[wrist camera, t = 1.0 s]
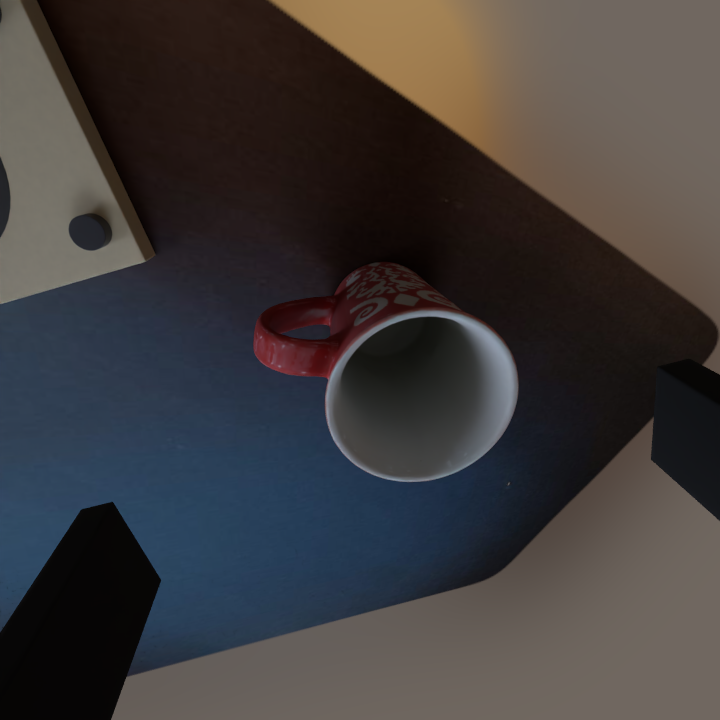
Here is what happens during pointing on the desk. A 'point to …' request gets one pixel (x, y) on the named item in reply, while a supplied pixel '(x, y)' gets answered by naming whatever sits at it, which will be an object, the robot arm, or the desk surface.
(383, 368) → the mug
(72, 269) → the stove
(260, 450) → the desk surface
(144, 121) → the desk surface
